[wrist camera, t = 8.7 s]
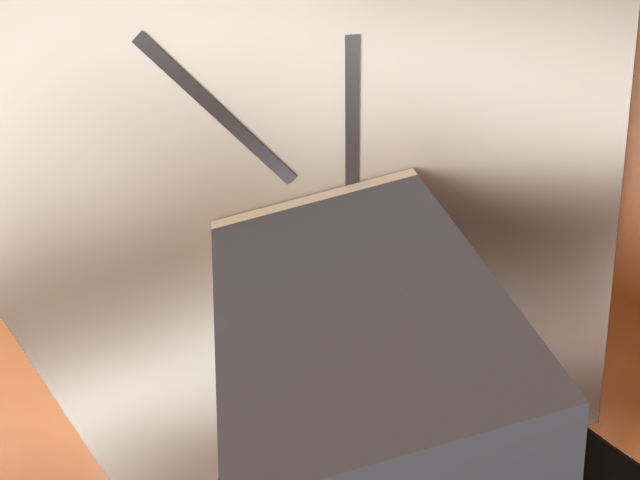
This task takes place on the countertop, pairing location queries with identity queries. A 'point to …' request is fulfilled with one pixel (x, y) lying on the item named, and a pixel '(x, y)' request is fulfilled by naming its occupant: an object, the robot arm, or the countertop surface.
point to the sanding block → (379, 348)
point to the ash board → (287, 175)
